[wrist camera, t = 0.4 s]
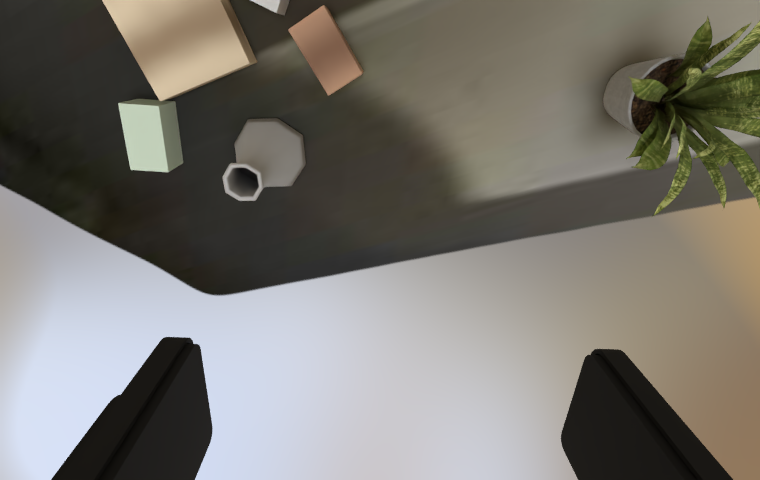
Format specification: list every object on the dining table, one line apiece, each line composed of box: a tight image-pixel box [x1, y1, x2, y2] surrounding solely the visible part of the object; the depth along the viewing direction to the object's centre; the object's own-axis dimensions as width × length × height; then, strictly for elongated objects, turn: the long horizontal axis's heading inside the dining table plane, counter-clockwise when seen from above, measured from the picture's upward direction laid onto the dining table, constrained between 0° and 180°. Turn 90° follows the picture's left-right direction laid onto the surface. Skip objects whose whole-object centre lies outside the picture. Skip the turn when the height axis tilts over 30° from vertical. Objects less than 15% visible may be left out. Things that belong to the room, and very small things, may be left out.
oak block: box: [102, 0, 257, 101], centre depth 36 cm, size 9×9×3 cm
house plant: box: [603, 17, 760, 216], centre depth 33 cm, size 14×14×16 cm
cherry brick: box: [288, 5, 364, 96], centre depth 37 cm, size 6×4×4 cm, turn 31°
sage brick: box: [118, 99, 183, 172], centre depth 40 cm, size 6×4×4 cm, turn 176°
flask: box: [223, 118, 306, 201], centre depth 37 cm, size 7×7×10 cm
